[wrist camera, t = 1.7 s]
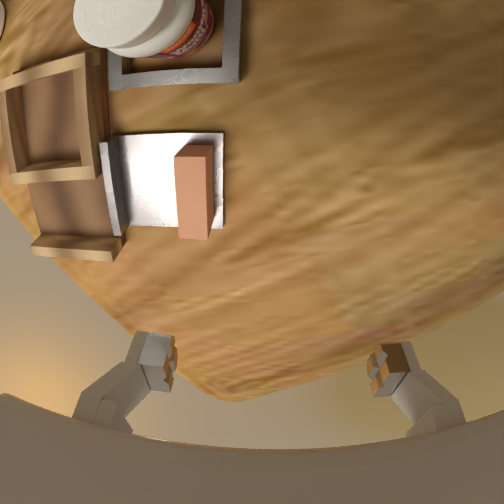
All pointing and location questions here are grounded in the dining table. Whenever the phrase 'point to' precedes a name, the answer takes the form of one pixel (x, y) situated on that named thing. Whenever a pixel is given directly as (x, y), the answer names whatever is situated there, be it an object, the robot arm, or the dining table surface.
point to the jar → (1, 17)
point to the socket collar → (227, 74)
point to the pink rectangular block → (194, 191)
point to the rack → (62, 152)
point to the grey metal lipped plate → (153, 177)
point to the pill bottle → (145, 26)
